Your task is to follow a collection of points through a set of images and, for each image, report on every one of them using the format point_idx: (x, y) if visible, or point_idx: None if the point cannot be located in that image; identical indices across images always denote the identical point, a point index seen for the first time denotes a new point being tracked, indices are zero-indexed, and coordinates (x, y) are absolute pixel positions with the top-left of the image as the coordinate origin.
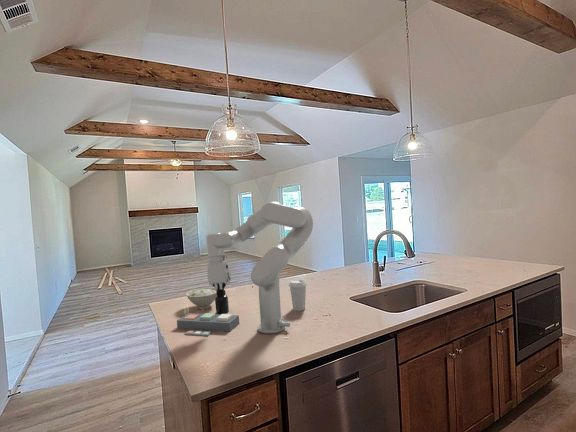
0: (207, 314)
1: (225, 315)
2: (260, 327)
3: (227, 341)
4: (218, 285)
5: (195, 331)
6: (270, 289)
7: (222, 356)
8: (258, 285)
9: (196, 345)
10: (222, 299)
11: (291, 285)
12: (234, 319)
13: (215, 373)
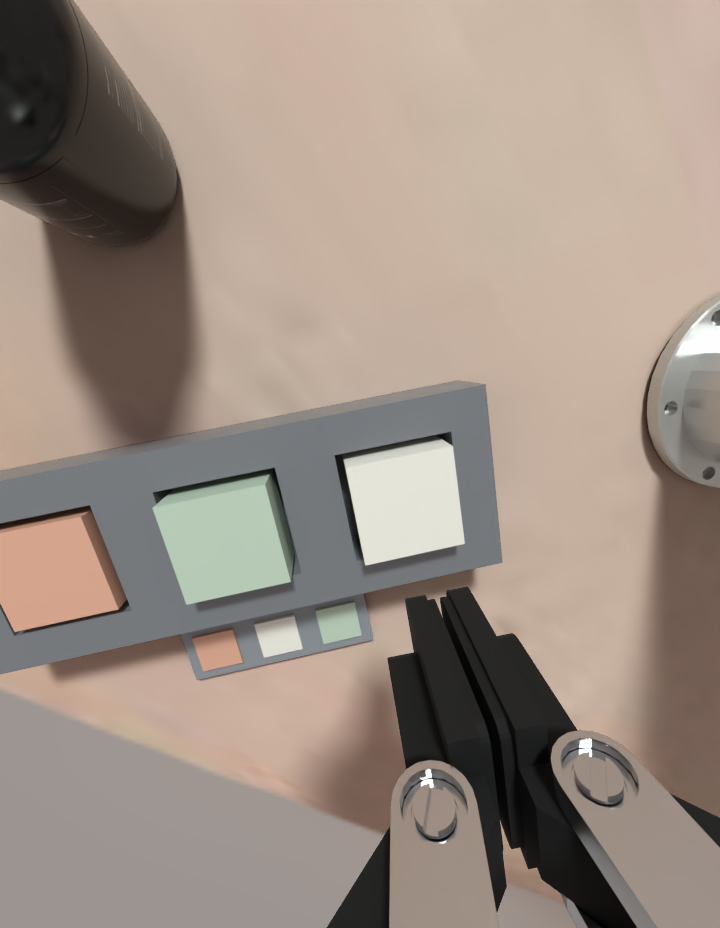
0: (204, 532)
1: (407, 492)
2: (684, 438)
3: (534, 638)
4: (452, 912)
5: (244, 630)
6: None
7: None
8: None
9: (393, 734)
10: (62, 136)
11: None
12: (492, 475)
13: None
